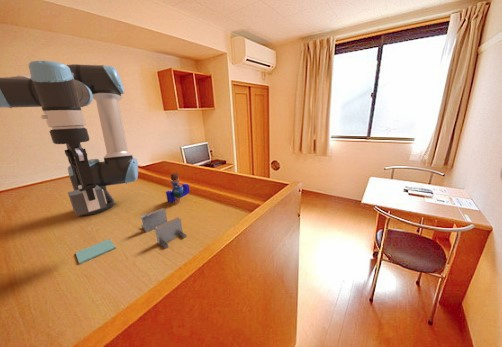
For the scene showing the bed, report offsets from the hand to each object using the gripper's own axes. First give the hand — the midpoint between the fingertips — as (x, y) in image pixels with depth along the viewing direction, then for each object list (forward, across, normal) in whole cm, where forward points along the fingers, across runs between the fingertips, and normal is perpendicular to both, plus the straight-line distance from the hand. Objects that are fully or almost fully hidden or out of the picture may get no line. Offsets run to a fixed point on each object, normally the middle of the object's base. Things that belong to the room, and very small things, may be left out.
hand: (92, 206), depth 59 cm
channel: (+15, +7, +16) cm, 23 cm away
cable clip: (+15, -17, +36) cm, 43 cm away
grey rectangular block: (0, 0, 0) cm, 1 cm away
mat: (+15, 0, -2) cm, 15 cm away
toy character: (+15, -12, +33) cm, 38 cm away
